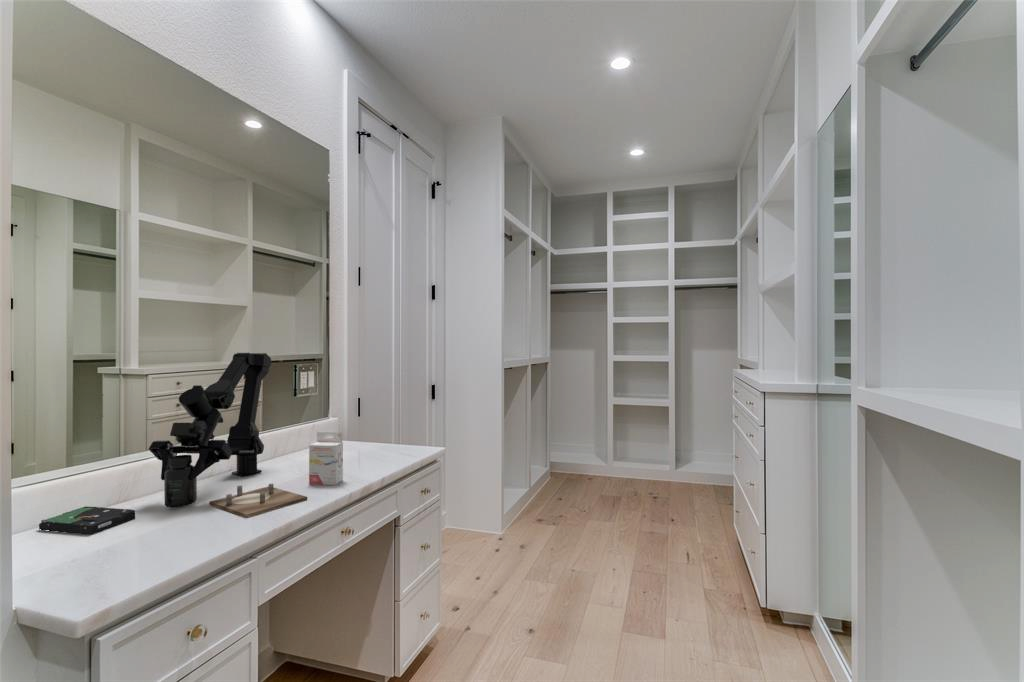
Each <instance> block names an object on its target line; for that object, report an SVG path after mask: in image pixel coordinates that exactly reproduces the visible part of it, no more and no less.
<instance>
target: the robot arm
mask: <svg viewBox="0 0 1024 682" xmlns="http://www.w3.org/2000/svg"><path fill="white" fill-rule="evenodd" d="M271 366H272V358H271V356H269V354H267V353H265V352H262V353H261V352H260V353H259V352H257V353H255V352H254V353H253V352H236V353H234V354H233V356H232V360H231V361H230V363H229V364H228V366H227V367H226V369H225V370H224V372H223V373H222V375H220V377H219V379H218V380H217V381H216V382H214V383H212V384H210V385H209V386H207V387H206V389H204V387H203V386H202V384H201V385H193V386H192V388H190V389H187V390H185V391H183V393H181V394H180V395H179V397H178V402H179V403H180V405H181V406H182V407H183V409H184V410H185V411H186V412H187V414H188V415H189V416H190V417H192V418H193V420H192V422H172V425H171V430H170V433H169V436H171V437H175V438H176V442H178V444H180V445H174V444H173V443H172V442H171V440H154V441H152V442H151V443H150V445H149V447H148V450H149V451H150V453H151V454H152V455H153V456H154V457H155V458H156V459H157V460H159V461H161V474H160V479H161V481H164V473H165V471H166V470H167V469H168V468H170V466H169V458H170V457H173V456H178V454H186V455H191V454H194V455H195V454H199V455H198V459H197V460H196V462H195V465H193V466H194V468H193V470H192V473H191V475H190V479H191V480H193V479H195V478H196V477H198V476H200V475H201V474H202V473H203V472H204V471H206V470H207V469H208V468H210V467H212V466H213V465H214V464H216V463H220V461H221V460H222V461H224V460H225V461H226V460H227V461H229V459H231V457H232V456H236V470H234V471H232V472H231V474H232V475H235V476H239V477H245V476H249V475H254V474H259V473H262V472H263V471H262V469H258V455H261V454H263V453H264V450H265V449H264V448H265V444H264V443H263V441H262V439H260V437H259V436H260V431H259V429H258V427H257V425H256V418H257V413H258V412H257V411H258V404H259V400H260V399H259V398H260V393H261V387H262V380H263V379H264V378H265V377H266V376H267V374H269V372H270V367H271ZM243 376H244V384H243V391H242V394H241V395H242V396H241V401H240V408H239V413H238V420H237V422H236V424H235V425H232V426H230V428H229V431H228V432H229V433H228V437H227V440H225V439H215V437H216V436H215V435H214V431H215V430H216V427H218V426H217V425H218V424H222V423H224V418H223V416H222V413H221V412H220V411H219V410H228V409H230V408H231V406H232V404H233V403H234V400H235V398H236V394H235V390H236V387H237V386H238V384H239V382H240V381H241V380H242V378H243Z"/></svg>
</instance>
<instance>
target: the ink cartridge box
mask: <svg viewBox="0 0 1024 682" xmlns="http://www.w3.org/2000/svg"><path fill="white" fill-rule="evenodd" d="M327 436H332V437H327ZM308 446H309V447H308V449H309V451H308V453H309V460H308V484H309V485H323V486H324V485H330V486H331V485H332V486H336V485H338V484H340V483H341V482H343V480H344V457H343V455H344V442H343V433H342V432H339V431H337V432H336V431H316V441H315V442H313V443H310V444H309V445H308Z"/></svg>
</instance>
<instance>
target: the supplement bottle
mask: <svg viewBox="0 0 1024 682" xmlns="http://www.w3.org/2000/svg"><path fill="white" fill-rule="evenodd" d="M192 457H193V455H191V454H180V455H177V456H173V457H170V458H169V466H170V468H168V469H167V470H166V471H165V473H164V480H163V482H164V484H163V489H164V491H163V492H164V497H163V498H164V499H163V500H164V506H165V507H166V508H170V509H171V508H172V509H174V508H175V509H176V508H183V507H187V506H191V505H192V504H195V503H196V502H197V499H198V498H197V497H198V494H197V493H198V491H197V487H198V485H197V484H198V482H197V480H198V479H197V477H198V476H197V477H196V478H195V479H193V480H191V479H190V475H191V473H192V470H193V468H194V466H195V465H193V464H192V463H193V459H192Z"/></svg>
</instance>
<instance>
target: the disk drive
mask: <svg viewBox="0 0 1024 682" xmlns="http://www.w3.org/2000/svg"><path fill="white" fill-rule="evenodd" d="M134 520H136V510H135V509H129V508H127V509H126V508H116V507H115V508H114V507H110V508H109V507H102V506H101V507H99V506H83V507H79V508H76V509H74V510H70V511H67V512H63V513H62V514H59V515H56V516H54V517H53V516H52V517H50V518H46V519H41V521H40V523H39V524H38V530H39V529H41V530H49V531H48V532H51V531H58V532H57V533H62V532H66V533H65V534H75V535H76V534H77V535H86V536H92V535H95V534H99V533H101V532H104V531H107V530H109V529H112V528H115V527H117V526H120V525H123V524H125V523H128V522H130V521H134Z"/></svg>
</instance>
